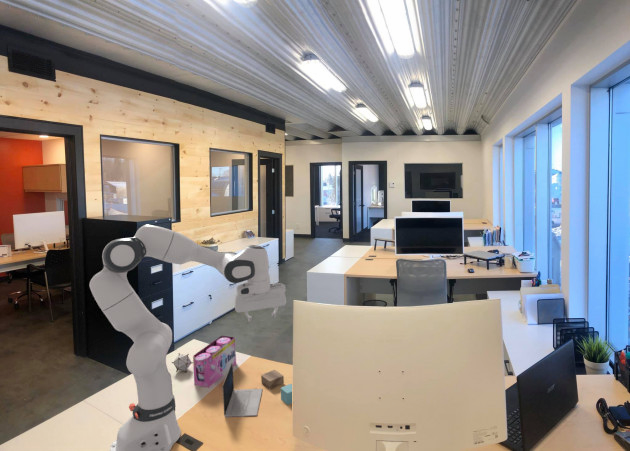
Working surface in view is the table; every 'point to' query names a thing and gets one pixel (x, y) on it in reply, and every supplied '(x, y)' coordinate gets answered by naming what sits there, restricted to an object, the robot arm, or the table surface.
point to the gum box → (214, 361)
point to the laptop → (239, 398)
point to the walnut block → (272, 379)
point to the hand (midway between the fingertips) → (262, 319)
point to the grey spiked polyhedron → (182, 362)
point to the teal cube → (286, 394)
